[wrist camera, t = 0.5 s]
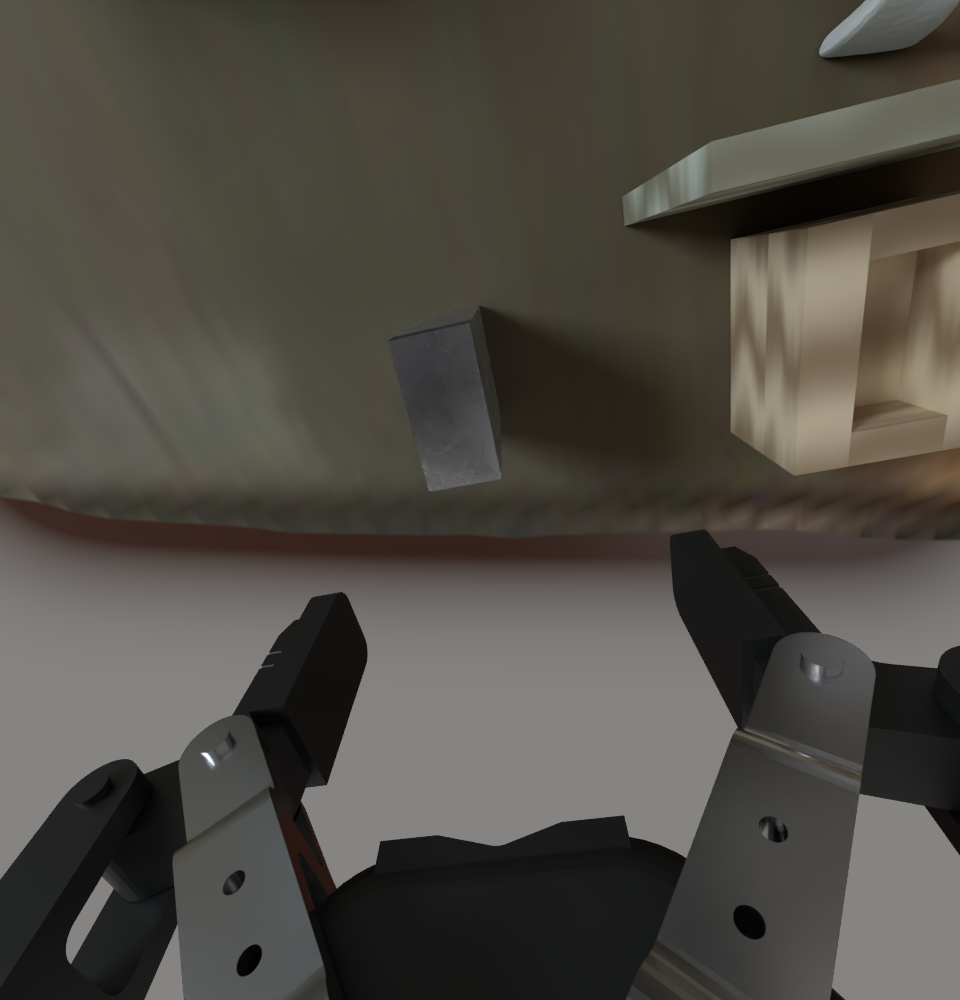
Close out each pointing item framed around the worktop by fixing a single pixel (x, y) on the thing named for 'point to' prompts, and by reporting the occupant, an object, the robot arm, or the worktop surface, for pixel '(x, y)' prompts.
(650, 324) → the worktop surface
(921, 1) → the spoon rest
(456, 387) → the brushed steel bar
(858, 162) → the small shelf
